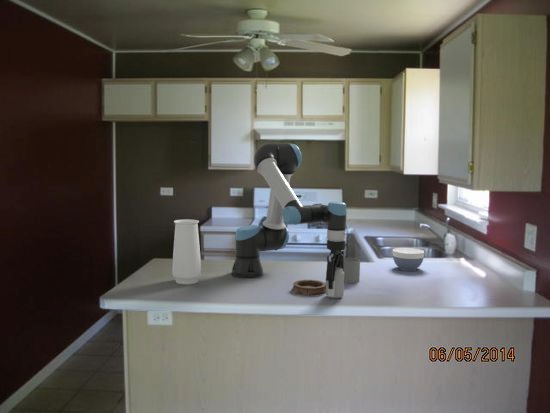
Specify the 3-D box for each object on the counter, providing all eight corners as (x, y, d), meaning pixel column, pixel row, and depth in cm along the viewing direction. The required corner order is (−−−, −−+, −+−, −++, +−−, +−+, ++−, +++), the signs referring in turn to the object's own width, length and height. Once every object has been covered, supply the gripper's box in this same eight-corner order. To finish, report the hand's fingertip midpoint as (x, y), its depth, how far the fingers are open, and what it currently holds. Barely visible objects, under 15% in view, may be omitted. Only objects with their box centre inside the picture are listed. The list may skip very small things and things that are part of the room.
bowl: (427, 267, 274) (428, 249, 273) (418, 273, 261) (418, 255, 260) (397, 263, 283) (398, 246, 282) (387, 269, 270) (388, 251, 269)
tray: (286, 292, 225) (286, 285, 225) (301, 284, 239) (301, 277, 238) (319, 297, 219) (319, 290, 218) (332, 288, 232) (332, 282, 232)
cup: (358, 283, 241) (359, 262, 240) (340, 282, 243) (341, 261, 242) (359, 279, 250) (360, 258, 249) (342, 278, 251) (342, 257, 250)
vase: (205, 283, 239) (205, 222, 235) (178, 286, 232) (177, 224, 229) (194, 276, 250) (194, 218, 246) (168, 280, 243) (167, 220, 240)
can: (323, 293, 223) (324, 266, 221) (341, 293, 224) (342, 266, 222) (327, 299, 215) (328, 270, 214) (345, 299, 216) (346, 270, 215)
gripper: (336, 244, 206) (334, 301, 209) (352, 236, 224) (351, 289, 227) (318, 242, 209) (316, 298, 212) (336, 235, 227) (334, 286, 230)
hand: (334, 293), depth 219 cm, fingers closed on can, 7 cm apart
